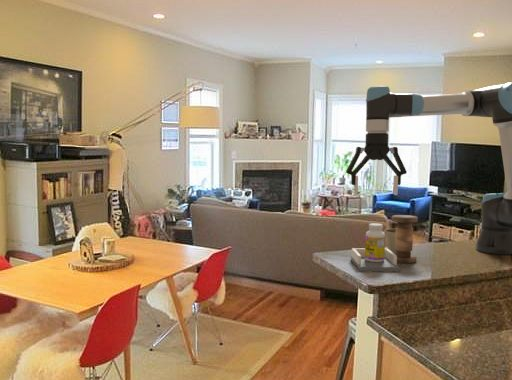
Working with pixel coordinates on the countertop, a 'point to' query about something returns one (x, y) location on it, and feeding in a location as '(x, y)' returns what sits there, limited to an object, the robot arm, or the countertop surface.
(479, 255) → the countertop surface
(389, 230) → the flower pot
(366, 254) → the supplement bottle
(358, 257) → the grey shallow tray
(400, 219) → the spool post
